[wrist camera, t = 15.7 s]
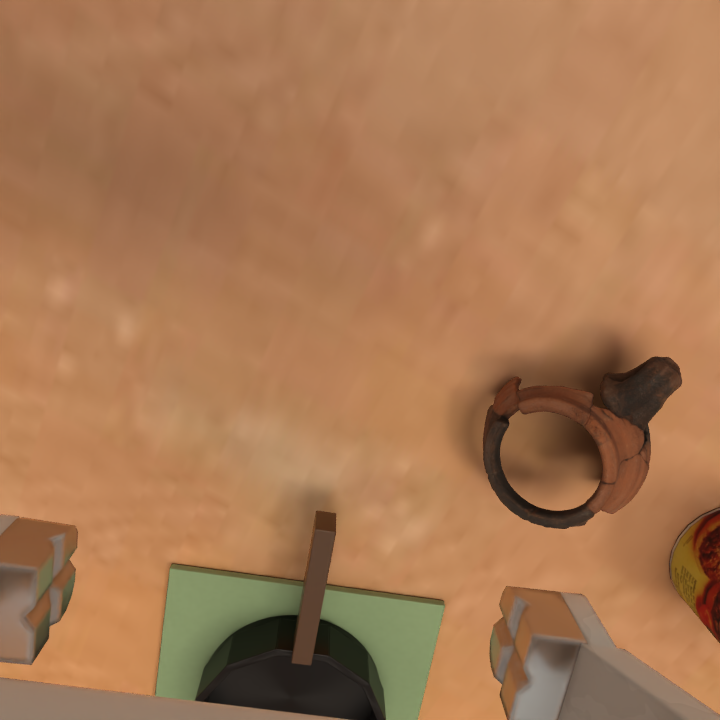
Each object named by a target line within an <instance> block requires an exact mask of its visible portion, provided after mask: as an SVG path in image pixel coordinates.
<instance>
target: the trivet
mask: <svg viewBox="0 0 720 720" xmlns="http://www.w3.org/2000/svg"><path fill="white" fill-rule="evenodd" d="M303 583H304V582H302V581H295V580H287V579H280V578H273V577H265V576H258V575H251V574H244V573H236V572H229V571H222V570H214V569H207V568H200V567H192V566H185V565H178V564H172V565H171V567H170V571H169V580H168V589H167V597H166V606H165V615H164V623H163V632H162V641H161V649H160V658H159V667H158V675H157V684H156V693H155V696H158V697H167V698H175V699H183V700H192V701H195V698H196V695H197V691H198V687H199V684H200V680H201V677H202V673H203V669H204V667H205V665H206V664H207V663H208V662H209V660H210V659H211V657H212V655H213V654H214V652H215V651H216V650H217V648H218V647H219V646H220V644H222V643H223V642H224V641H225V640H226V639H227V638H228V637H229V636H230V635H232V634H233V633H234V632H236V631H237V630H239V629H241V628H242V627H244V626H246V625H248V624H250V623H253V622H255V621H258V620H261V619H265V618H269V617H275V616H281V615H298V611H299V606H300V600H301V594H302V589H303ZM444 608H445V604H444V601H441V600H434V599H427V598H419V597H412V596H405V595H397V594H390V593H383V592H375V591H368V590H361V589H353V588H346V587H339V586H331V585H326V589H325V594H324V599H323V605H322V610H321V615H320V619H321V620H325V621H328V622H330V623H332V624H335V625H337V626H339V627H341V628H342V629H344V630H346V631H347V632H349V633H350V634H351V635H353V636H354V637H355V638H356V639H357V640H358V641H359V642H360V643H361V644H362V645H363V646H364V647H365V648H366V650H367V651H368V652H369V654H370V655H371V657H372V659H373V661H374V663H375V665H376V668H377V671H378V674H379V680H380V682H381V684H382V687H383V689H384V701H385V712H386V720H418V716H419V712H420V708H421V704H422V700H423V695H424V691H425V687H426V683H427V679H428V675H429V670H430V666H431V662H432V658H433V654H434V650H435V646H436V641H437V637H438V633H439V629H440V625H441V621H442V617H443V612H444Z"/></svg>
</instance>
